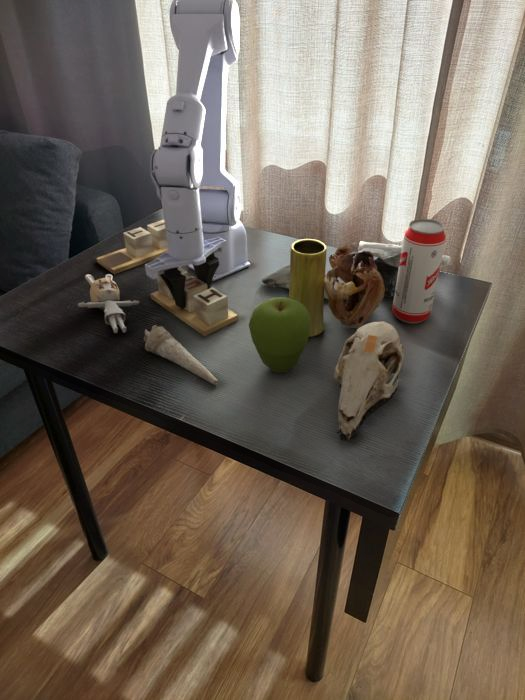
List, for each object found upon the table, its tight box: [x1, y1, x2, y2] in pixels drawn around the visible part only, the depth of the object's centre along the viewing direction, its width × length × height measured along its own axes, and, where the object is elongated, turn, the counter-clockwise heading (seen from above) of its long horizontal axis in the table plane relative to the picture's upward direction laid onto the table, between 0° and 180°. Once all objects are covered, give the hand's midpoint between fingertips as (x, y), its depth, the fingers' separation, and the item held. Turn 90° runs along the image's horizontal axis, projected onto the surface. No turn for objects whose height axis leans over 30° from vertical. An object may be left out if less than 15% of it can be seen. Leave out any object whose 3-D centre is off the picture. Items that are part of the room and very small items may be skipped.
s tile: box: [184, 275, 207, 312], centre depth 89 cm, size 4×4×4 cm
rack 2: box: [150, 267, 239, 337], centre depth 89 cm, size 16×7×5 cm, turn 42°
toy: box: [77, 273, 140, 334], centre depth 89 cm, size 10×5×15 cm
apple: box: [248, 296, 311, 374], centre depth 74 cm, size 9×8×12 cm
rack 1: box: [96, 219, 168, 275], centre depth 106 cm, size 16×7×5 cm, turn 132°
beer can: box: [391, 218, 447, 325], centre depth 83 cm, size 6×6×16 cm
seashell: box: [143, 324, 219, 386], centre depth 78 cm, size 4×7×15 cm
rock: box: [374, 253, 401, 298], centre depth 93 cm, size 8×7×10 cm
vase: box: [288, 238, 327, 338], centre depth 81 cm, size 6×6×14 cm
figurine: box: [357, 239, 453, 268], centre depth 101 cm, size 7×4×18 cm
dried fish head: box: [325, 242, 385, 329], centre depth 86 cm, size 21×9×10 cm, turn 169°
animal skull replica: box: [333, 320, 404, 441], centre depth 68 cm, size 8×17×10 cm, turn 154°
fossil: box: [261, 264, 348, 300], centre depth 95 cm, size 11×5×15 cm
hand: (192, 300), depth 90 cm, fingers open, 4 cm apart
